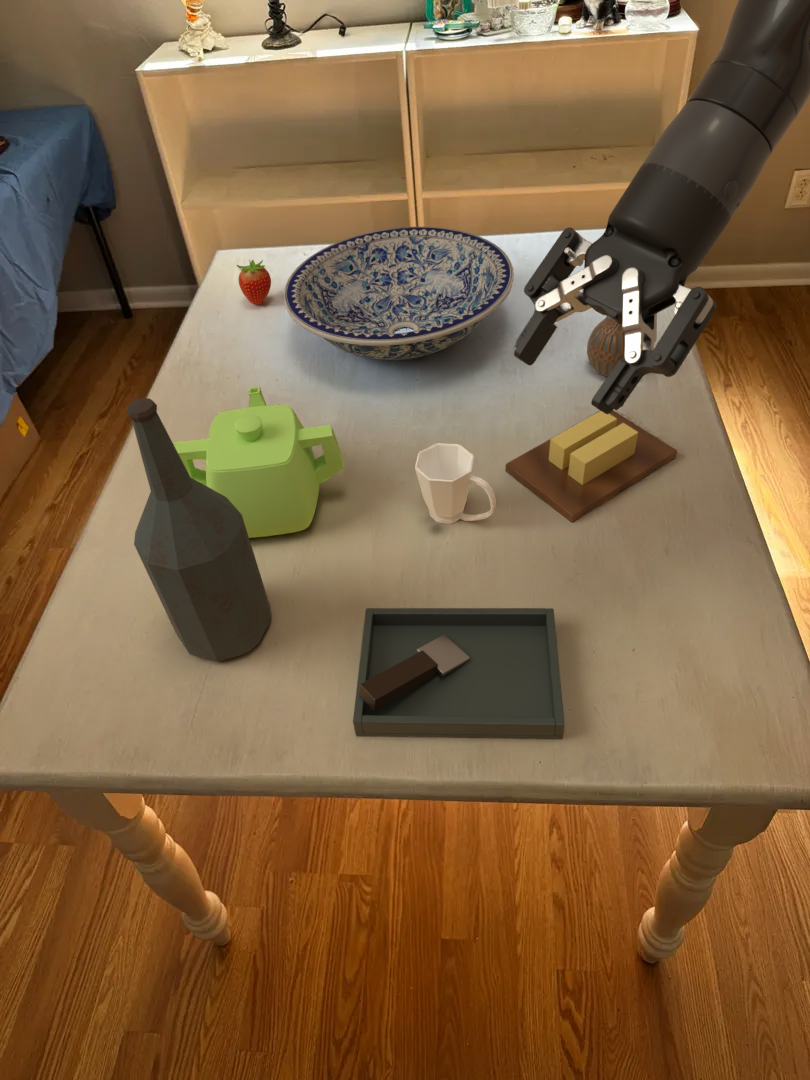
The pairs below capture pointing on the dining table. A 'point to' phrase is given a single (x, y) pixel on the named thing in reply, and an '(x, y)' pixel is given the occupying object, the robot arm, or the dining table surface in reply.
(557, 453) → the butter
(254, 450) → the teapot
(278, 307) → the dining table surface
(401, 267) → the ceramic bowl
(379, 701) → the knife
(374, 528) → the dining table surface
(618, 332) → the vase
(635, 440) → the butter
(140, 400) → the bottle
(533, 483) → the board
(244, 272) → the fruit
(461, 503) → the cup
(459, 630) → the tray
